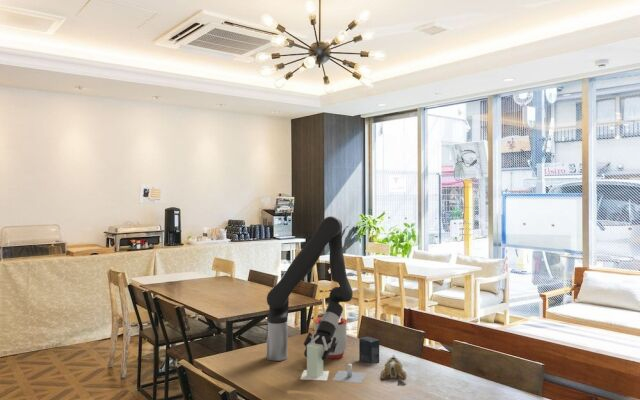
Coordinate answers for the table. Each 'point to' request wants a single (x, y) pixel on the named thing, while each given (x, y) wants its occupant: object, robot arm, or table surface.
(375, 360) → the box
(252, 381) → the table surface
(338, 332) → the citrus juicer
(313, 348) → the pale green pillar
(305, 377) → the mat
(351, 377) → the post stand
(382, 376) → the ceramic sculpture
